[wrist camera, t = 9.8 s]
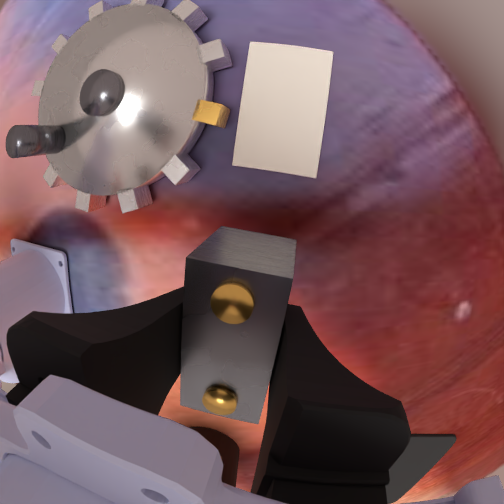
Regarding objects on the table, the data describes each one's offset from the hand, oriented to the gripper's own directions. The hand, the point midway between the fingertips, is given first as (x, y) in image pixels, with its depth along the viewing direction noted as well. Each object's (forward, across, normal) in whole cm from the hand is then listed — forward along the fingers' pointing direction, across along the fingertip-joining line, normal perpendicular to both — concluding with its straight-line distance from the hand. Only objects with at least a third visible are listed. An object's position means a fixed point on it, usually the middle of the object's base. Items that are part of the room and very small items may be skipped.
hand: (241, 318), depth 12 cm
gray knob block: (+2, 0, 0) cm, 2 cm away
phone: (+9, -19, +23) cm, 31 cm away
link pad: (+8, 0, -9) cm, 12 cm away
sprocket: (+8, +11, -9) cm, 17 cm away
